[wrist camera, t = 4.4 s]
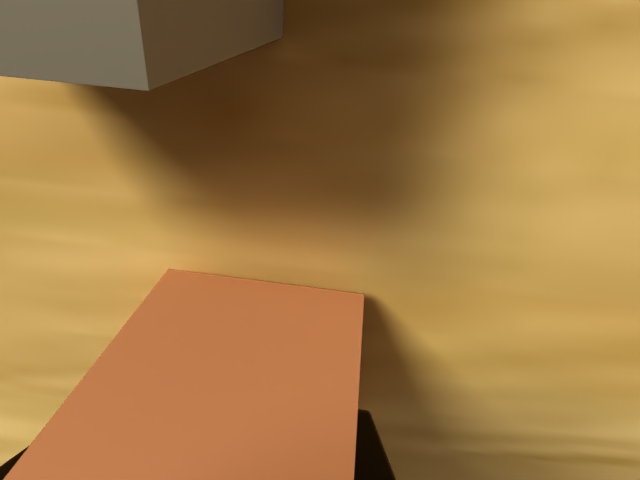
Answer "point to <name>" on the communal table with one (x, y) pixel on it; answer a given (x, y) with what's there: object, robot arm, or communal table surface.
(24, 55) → the gray block
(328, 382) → the terracotta block
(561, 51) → the communal table surface
